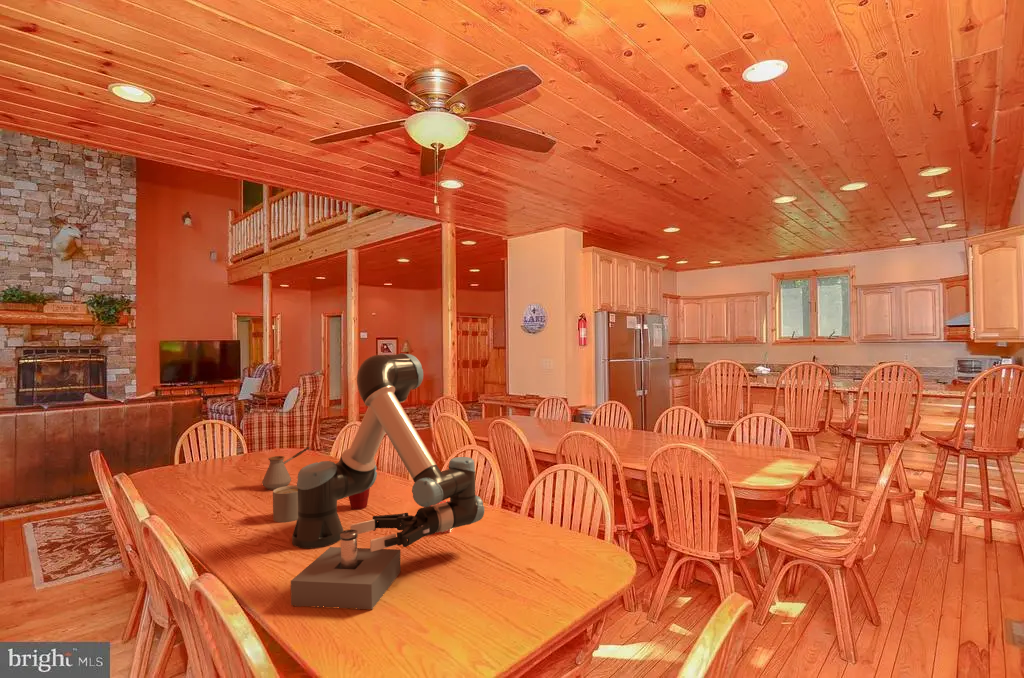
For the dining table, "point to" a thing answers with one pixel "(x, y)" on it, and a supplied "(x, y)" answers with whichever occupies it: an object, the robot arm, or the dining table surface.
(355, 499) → the plastic cup
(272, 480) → the coffee pot
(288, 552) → the dining table surface
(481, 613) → the dining table surface
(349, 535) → the steel pin
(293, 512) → the coffee mug
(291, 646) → the dining table surface
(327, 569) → the block
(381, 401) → the robot arm
